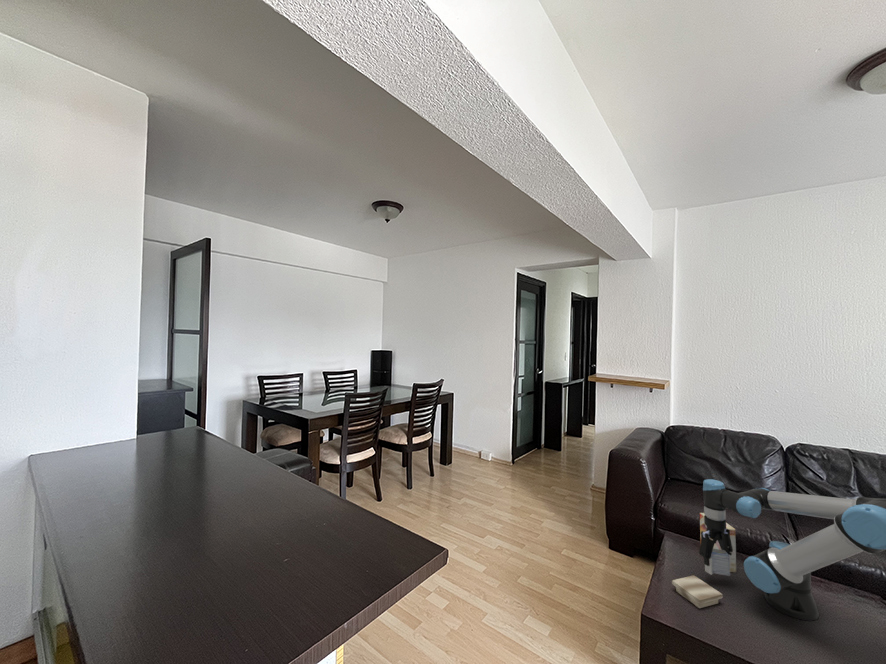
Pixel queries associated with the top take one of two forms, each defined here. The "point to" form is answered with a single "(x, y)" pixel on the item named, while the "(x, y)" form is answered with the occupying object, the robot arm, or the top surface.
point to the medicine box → (720, 562)
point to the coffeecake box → (717, 545)
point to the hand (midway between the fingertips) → (717, 570)
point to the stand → (697, 591)
